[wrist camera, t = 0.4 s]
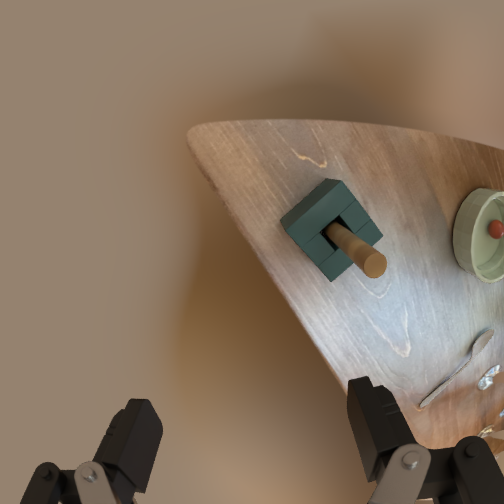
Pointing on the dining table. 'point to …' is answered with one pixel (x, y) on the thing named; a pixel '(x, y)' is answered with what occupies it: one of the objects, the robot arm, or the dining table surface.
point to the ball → (496, 229)
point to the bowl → (480, 235)
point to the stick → (357, 250)
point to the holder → (319, 216)
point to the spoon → (476, 350)
